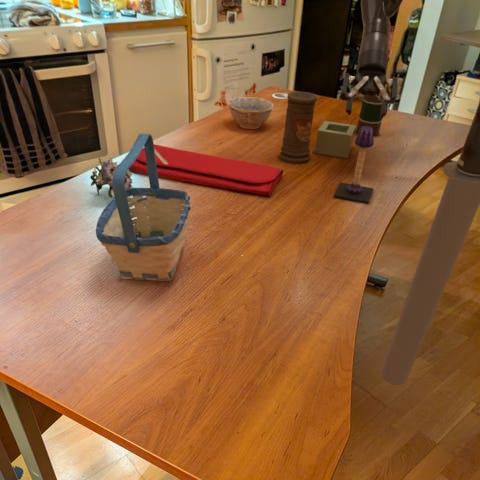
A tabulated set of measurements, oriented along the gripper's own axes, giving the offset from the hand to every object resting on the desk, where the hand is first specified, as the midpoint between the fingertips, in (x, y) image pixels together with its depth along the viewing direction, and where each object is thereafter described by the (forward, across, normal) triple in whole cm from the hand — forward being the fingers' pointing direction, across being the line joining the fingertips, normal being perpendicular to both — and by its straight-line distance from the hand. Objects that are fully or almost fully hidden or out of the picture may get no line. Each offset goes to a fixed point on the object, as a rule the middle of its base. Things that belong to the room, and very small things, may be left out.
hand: (365, 115), depth 121 cm
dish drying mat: (+18, -41, +6) cm, 46 cm away
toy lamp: (+19, 0, +4) cm, 20 cm away
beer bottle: (-17, +6, +41) cm, 45 cm away
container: (+5, -18, +20) cm, 27 cm away
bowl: (-14, -35, +38) cm, 54 cm away
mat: (+20, 0, +5) cm, 20 cm away
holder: (-3, -6, +27) cm, 27 cm away
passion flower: (+32, -61, -8) cm, 69 cm away
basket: (+52, -43, -27) cm, 72 cm away
